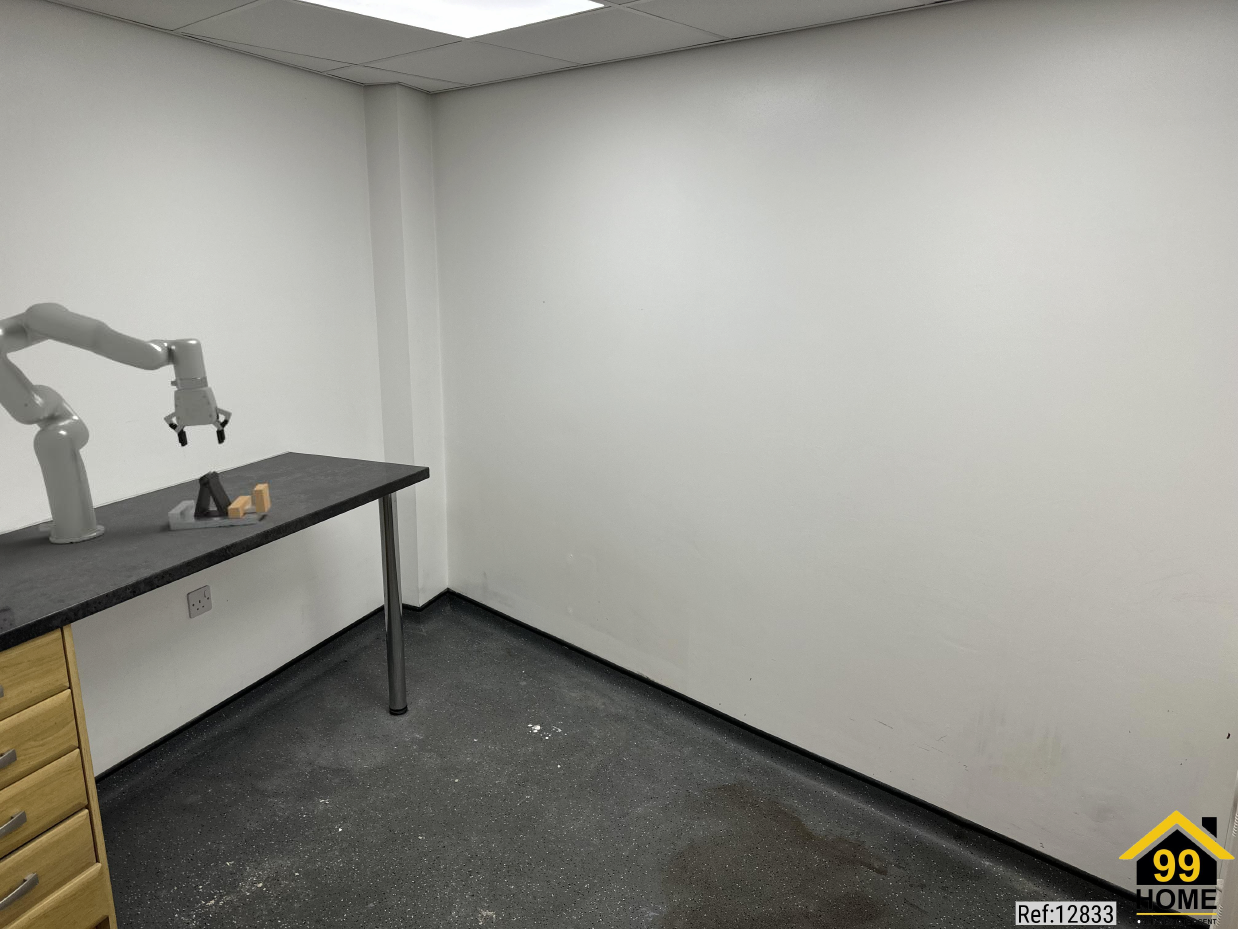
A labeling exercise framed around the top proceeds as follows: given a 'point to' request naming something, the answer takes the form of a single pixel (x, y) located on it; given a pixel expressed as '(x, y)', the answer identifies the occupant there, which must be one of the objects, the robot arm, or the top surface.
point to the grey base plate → (216, 521)
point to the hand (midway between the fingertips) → (203, 444)
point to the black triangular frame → (209, 489)
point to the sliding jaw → (245, 504)
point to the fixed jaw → (181, 511)
